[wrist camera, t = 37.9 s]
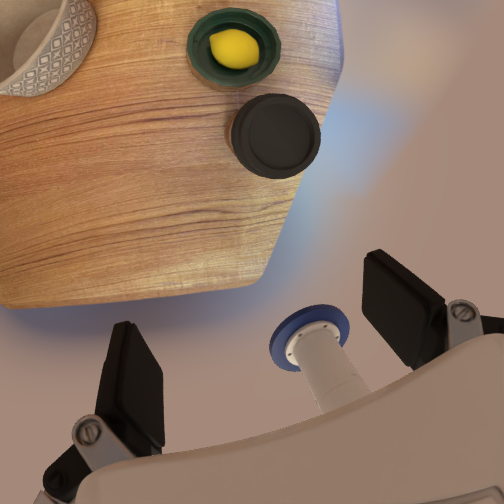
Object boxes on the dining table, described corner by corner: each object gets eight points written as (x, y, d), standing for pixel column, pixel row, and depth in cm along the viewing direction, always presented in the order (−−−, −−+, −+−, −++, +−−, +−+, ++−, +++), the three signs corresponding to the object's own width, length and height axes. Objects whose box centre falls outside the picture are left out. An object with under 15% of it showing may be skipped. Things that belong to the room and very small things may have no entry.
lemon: (263, 53, 31) (275, 43, 26) (241, 82, 32) (250, 75, 27) (220, 28, 28) (226, 13, 23) (197, 56, 29) (199, 45, 24)
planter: (120, 8, 23) (98, -32, 12) (64, 108, 28) (18, 105, 17) (42, -4, 17) (7, -31, 6) (-6, 87, 22) (-55, 85, 10)
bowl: (285, 61, 32) (298, 54, 28) (224, 107, 34) (230, 104, 29) (233, 8, 27) (240, -6, 23) (169, 53, 28) (167, 42, 24)
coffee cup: (252, 92, 33) (291, 73, 20) (287, 138, 37) (341, 147, 24) (203, 129, 34) (214, 128, 21) (242, 174, 38) (273, 201, 25)
